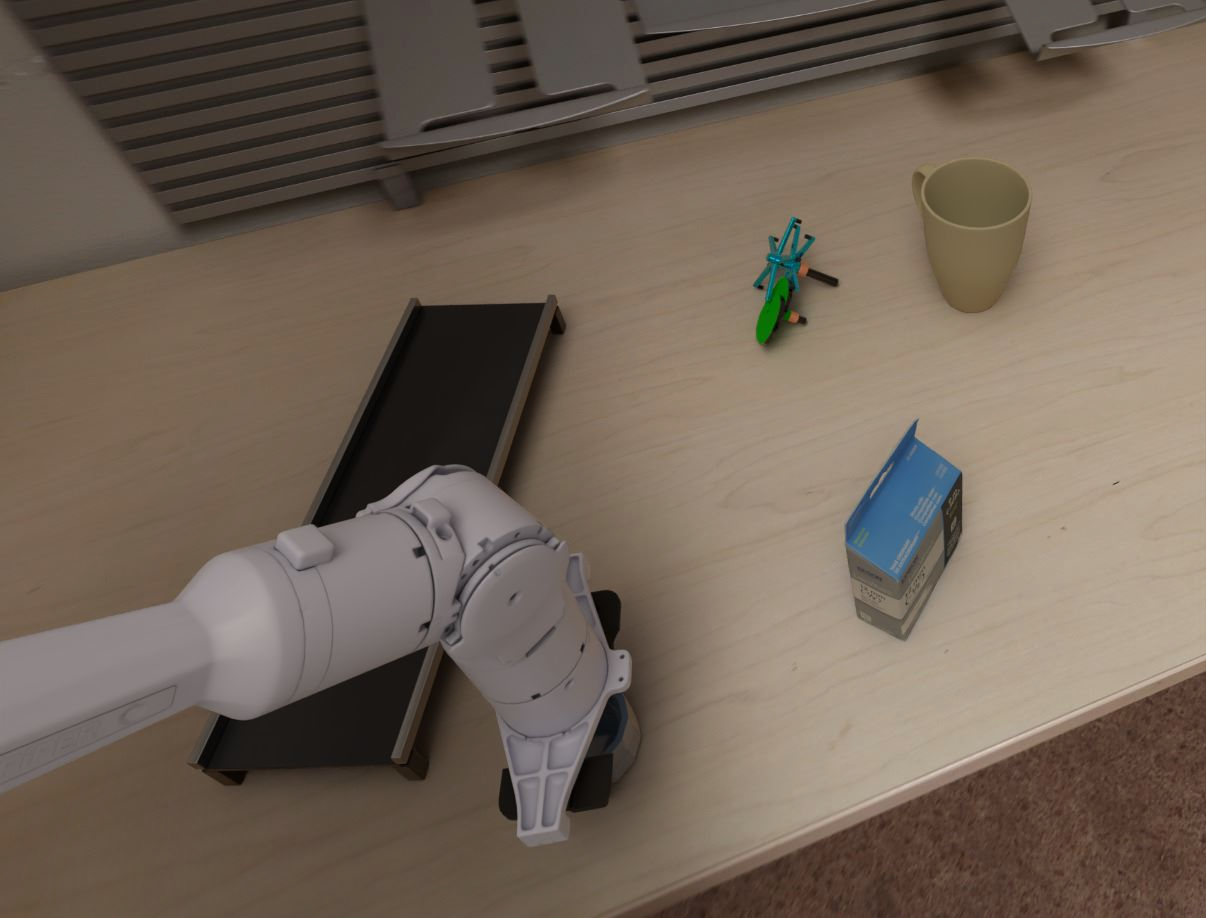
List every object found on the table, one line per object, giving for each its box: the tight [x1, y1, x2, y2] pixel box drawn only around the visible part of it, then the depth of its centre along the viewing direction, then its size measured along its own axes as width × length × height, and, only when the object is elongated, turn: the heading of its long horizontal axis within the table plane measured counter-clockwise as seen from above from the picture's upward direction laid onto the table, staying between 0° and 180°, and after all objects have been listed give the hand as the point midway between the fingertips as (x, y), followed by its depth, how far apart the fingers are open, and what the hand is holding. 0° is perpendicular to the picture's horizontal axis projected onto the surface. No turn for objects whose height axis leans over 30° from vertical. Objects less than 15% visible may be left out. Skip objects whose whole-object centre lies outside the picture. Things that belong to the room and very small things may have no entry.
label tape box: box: [844, 418, 964, 642], centre depth 61 cm, size 9×4×12 cm, turn 151°
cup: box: [585, 692, 642, 784], centre depth 56 cm, size 5×5×4 cm
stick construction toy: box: [752, 216, 839, 346], centre depth 82 cm, size 12×7×8 cm
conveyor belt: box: [186, 294, 567, 787], centre depth 68 cm, size 36×12×4 cm, turn 1°
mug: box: [911, 156, 1033, 314], centre depth 80 cm, size 11×10×12 cm
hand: (594, 739), depth 56 cm, fingers open, 6 cm apart
